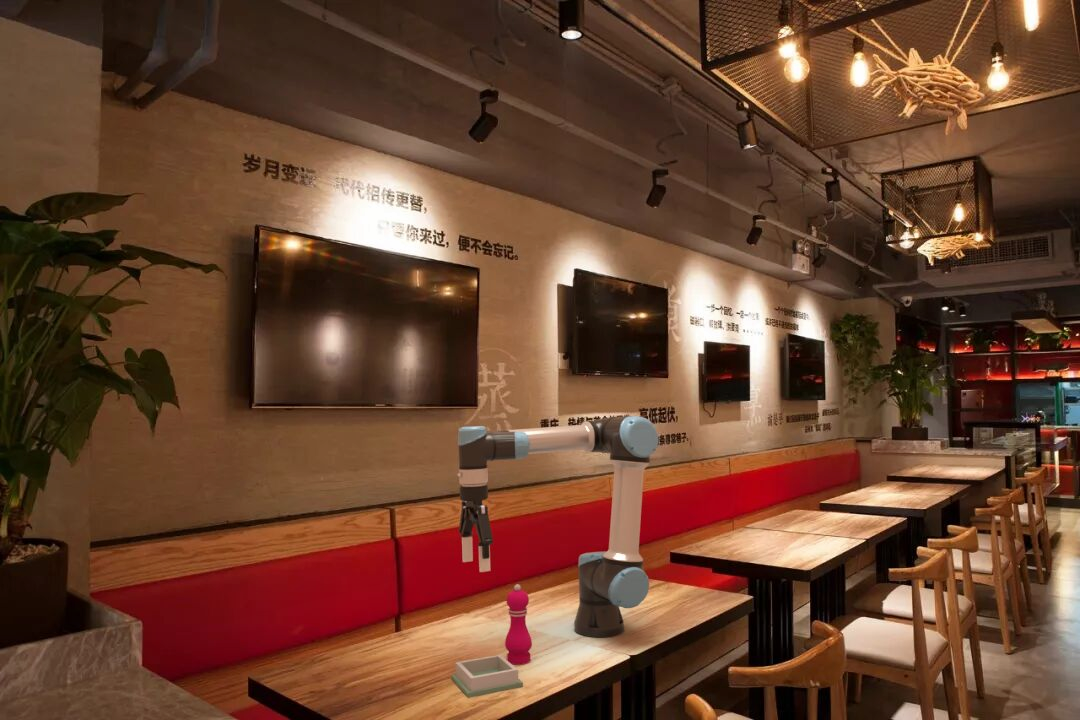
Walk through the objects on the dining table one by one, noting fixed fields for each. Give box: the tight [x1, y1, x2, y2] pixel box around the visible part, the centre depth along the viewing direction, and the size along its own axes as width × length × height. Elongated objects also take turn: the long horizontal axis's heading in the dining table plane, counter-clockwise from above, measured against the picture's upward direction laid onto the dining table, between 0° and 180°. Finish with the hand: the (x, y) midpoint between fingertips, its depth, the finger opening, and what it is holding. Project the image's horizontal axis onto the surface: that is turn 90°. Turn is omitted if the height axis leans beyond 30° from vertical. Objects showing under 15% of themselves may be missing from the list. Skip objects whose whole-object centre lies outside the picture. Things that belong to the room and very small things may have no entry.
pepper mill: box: [504, 583, 533, 666], centre depth 188 cm, size 7×7×20 cm
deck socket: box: [450, 654, 524, 698], centre depth 172 cm, size 14×13×4 cm
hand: (476, 566), depth 184 cm, fingers open, 13 cm apart
